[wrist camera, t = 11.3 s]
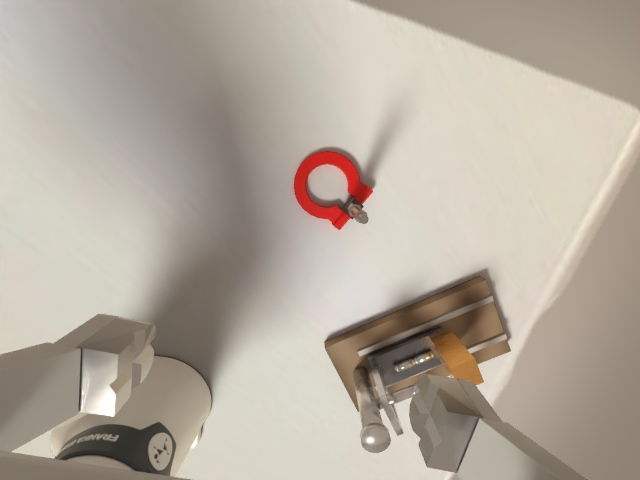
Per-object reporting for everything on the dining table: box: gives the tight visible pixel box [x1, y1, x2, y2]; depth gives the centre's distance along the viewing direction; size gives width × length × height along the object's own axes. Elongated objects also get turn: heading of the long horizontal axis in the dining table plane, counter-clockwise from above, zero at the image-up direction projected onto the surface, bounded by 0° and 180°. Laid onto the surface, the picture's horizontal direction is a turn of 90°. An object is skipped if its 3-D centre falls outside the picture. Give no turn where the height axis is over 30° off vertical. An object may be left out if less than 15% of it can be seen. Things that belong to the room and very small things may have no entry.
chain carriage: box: [367, 326, 484, 436], centre depth 38 cm, size 12×5×9 cm, turn 115°
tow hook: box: [294, 151, 373, 230], centre depth 33 cm, size 8×13×9 cm
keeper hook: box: [353, 366, 419, 453], centre depth 38 cm, size 9×3×11 cm, turn 115°
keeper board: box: [325, 276, 511, 412], centre depth 43 cm, size 24×12×2 cm, turn 115°
